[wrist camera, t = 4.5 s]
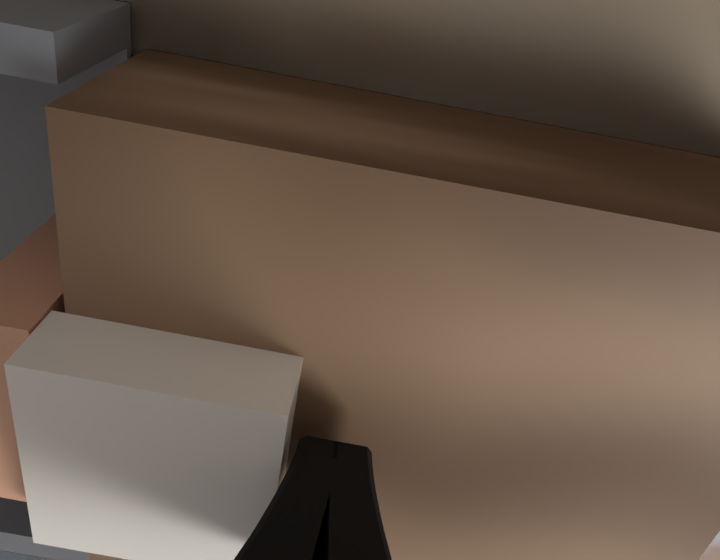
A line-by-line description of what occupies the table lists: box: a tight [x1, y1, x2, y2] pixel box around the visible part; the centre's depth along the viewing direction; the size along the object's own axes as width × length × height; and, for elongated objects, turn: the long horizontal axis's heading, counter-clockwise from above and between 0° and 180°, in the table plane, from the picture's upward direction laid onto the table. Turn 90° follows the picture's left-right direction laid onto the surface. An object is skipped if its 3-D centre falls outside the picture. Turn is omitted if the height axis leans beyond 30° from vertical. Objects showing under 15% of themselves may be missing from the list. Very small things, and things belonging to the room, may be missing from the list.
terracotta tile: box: [0, 214, 65, 502], centre depth 14 cm, size 4×4×2 cm
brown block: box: [45, 49, 720, 560], centre depth 14 cm, size 12×13×4 cm
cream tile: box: [4, 310, 303, 560], centre depth 12 cm, size 4×4×2 cm
